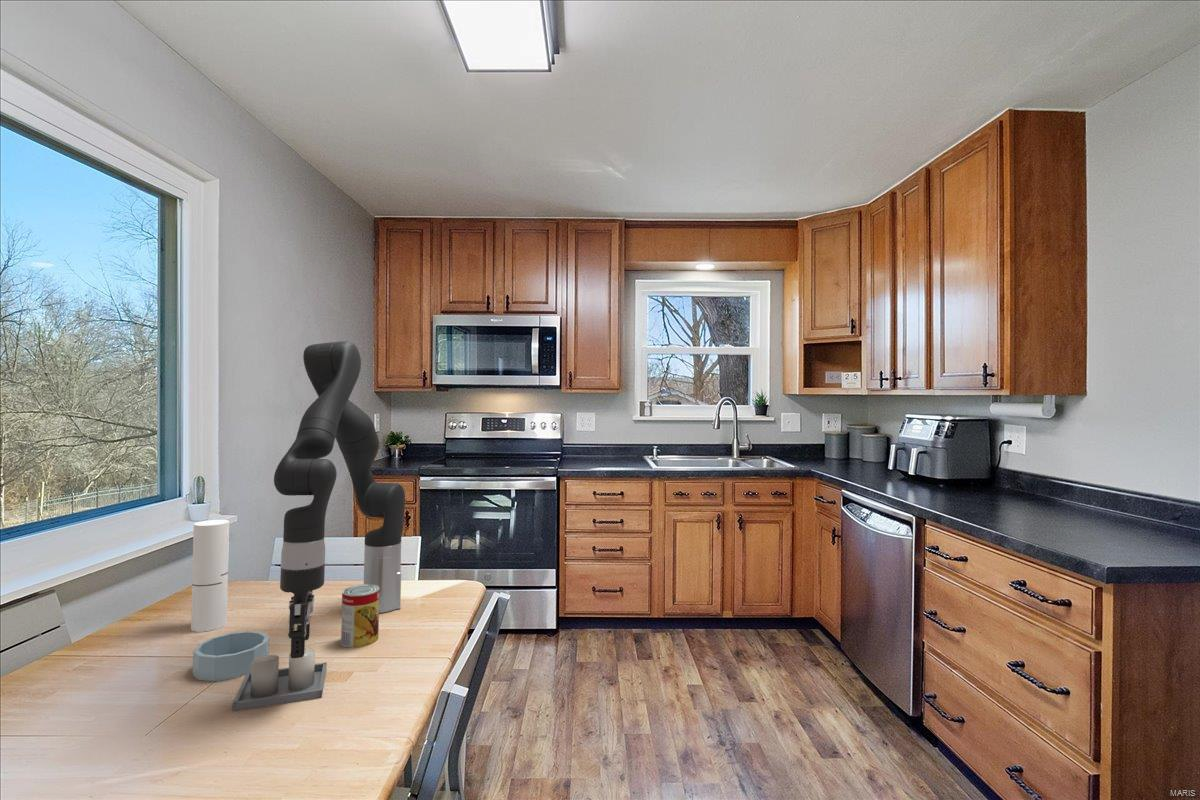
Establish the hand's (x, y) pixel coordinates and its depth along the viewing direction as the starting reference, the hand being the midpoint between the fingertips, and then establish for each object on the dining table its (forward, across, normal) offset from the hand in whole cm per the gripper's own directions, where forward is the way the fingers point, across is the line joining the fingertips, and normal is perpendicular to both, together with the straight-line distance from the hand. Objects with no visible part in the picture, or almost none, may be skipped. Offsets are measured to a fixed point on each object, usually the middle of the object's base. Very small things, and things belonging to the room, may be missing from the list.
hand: (300, 648), depth 108 cm
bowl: (+8, +14, +14) cm, 21 cm away
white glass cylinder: (+7, 0, 0) cm, 7 cm away
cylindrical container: (+8, +41, +24) cm, 48 cm away
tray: (+8, 0, +3) cm, 8 cm away
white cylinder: (+7, -1, +6) cm, 9 cm away
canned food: (+8, +19, -10) cm, 23 cm away
